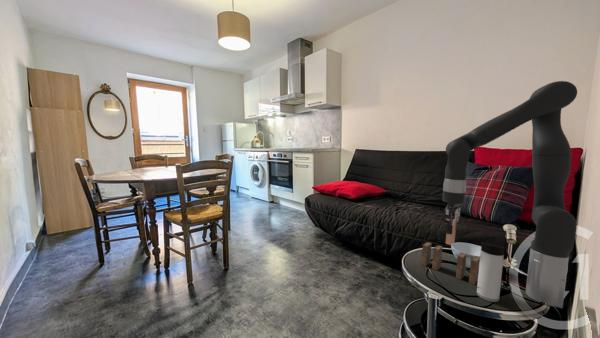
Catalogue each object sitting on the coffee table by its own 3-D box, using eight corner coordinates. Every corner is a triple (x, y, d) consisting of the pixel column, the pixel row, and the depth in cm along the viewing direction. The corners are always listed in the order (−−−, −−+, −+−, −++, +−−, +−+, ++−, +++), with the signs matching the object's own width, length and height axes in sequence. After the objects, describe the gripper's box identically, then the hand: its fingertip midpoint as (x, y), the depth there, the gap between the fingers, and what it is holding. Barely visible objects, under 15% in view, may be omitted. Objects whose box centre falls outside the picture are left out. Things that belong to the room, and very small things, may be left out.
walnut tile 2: (440, 267, 104) (442, 246, 104) (436, 270, 101) (438, 249, 100) (436, 265, 106) (438, 245, 105) (432, 268, 103) (433, 248, 102)
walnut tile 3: (464, 275, 98) (466, 253, 97) (460, 279, 94) (462, 257, 94) (459, 273, 99) (461, 252, 98) (455, 277, 96) (457, 255, 95)
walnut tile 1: (430, 263, 108) (431, 243, 107) (425, 266, 105) (427, 245, 104) (425, 261, 109) (427, 241, 108) (421, 264, 106) (422, 244, 105)
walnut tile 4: (477, 280, 94) (479, 257, 93) (474, 284, 91) (476, 261, 90) (472, 278, 96) (474, 256, 95) (468, 282, 92) (470, 259, 91)
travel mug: (473, 295, 84) (478, 241, 82) (480, 289, 88) (485, 238, 86) (495, 305, 79) (501, 248, 77) (501, 298, 83) (507, 243, 81)
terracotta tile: (454, 241, 95) (456, 219, 95) (450, 245, 92) (452, 221, 91) (449, 240, 97) (451, 218, 96) (445, 243, 94) (447, 220, 93)
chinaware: (498, 275, 98) (500, 258, 98) (459, 272, 100) (461, 254, 100) (477, 259, 113) (479, 243, 112) (444, 256, 115) (445, 241, 115)
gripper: (459, 194, 85) (456, 239, 87) (470, 190, 95) (467, 230, 96) (437, 191, 91) (434, 233, 92) (449, 187, 100) (446, 226, 102)
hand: (451, 232), depth 94 cm, fingers closed on terracotta tile, 5 cm apart
